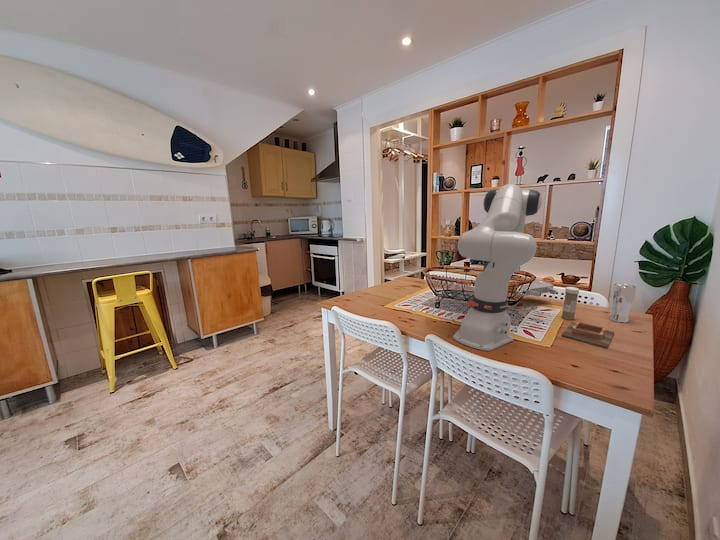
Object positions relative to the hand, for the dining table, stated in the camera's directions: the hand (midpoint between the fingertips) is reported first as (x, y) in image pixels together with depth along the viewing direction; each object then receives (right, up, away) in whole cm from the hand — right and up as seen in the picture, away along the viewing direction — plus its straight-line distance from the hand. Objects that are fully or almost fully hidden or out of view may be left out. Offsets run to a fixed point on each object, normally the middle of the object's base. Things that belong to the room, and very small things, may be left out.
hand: (547, 293), depth 128 cm
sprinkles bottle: (+3, -10, -8) cm, 13 cm away
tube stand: (-1, -14, -24) cm, 27 cm away
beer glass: (+22, -10, -11) cm, 27 cm away
